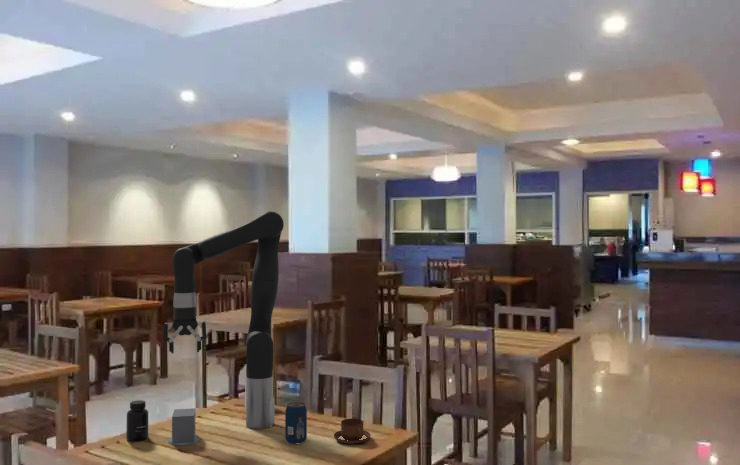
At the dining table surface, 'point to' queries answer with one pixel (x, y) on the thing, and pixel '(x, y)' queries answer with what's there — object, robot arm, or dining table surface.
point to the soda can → (296, 422)
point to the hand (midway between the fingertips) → (185, 352)
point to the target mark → (184, 443)
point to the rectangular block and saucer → (352, 431)
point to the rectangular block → (183, 426)
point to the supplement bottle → (137, 421)
